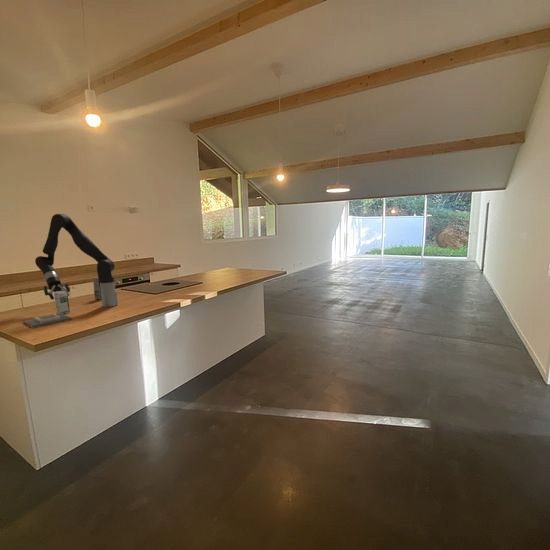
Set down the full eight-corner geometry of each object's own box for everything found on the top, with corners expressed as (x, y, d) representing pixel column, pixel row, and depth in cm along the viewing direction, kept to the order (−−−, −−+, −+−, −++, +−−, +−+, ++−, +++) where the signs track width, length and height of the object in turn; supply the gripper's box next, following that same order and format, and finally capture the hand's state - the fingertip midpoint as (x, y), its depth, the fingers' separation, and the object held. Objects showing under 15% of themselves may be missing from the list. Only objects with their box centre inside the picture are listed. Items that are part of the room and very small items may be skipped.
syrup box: (60, 314, 212) (58, 293, 210) (56, 313, 215) (53, 292, 213) (70, 312, 217) (67, 291, 215) (65, 311, 220) (63, 290, 218)
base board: (61, 315, 210) (60, 311, 210) (71, 319, 199) (71, 315, 199) (23, 322, 195) (22, 318, 195) (32, 327, 184) (32, 323, 183)
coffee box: (101, 300, 254) (99, 279, 252) (94, 299, 255) (92, 279, 253) (109, 297, 263) (107, 277, 261) (103, 297, 264) (100, 277, 262)
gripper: (40, 277, 214) (48, 296, 208) (65, 274, 224) (73, 292, 219) (39, 284, 218) (47, 303, 212) (63, 281, 229) (71, 299, 223)
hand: (60, 297), depth 216 cm, fingers open, 8 cm apart
